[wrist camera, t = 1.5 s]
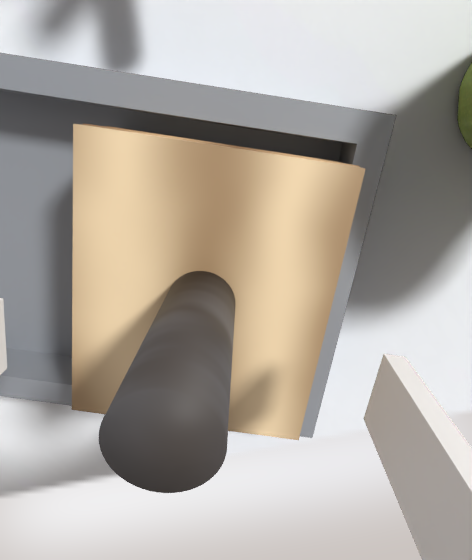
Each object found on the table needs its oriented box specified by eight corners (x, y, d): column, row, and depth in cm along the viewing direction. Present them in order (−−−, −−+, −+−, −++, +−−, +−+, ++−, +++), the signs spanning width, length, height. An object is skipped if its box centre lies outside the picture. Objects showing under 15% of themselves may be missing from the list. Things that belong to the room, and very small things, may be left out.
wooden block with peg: (108, 351, 26) (-53, 600, 12) (117, 127, 21) (-130, 100, 7) (287, 376, 26) (336, 647, 12) (335, 160, 22) (502, 196, 8)
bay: (-25, 349, 28) (-72, 386, 24) (-51, 54, 22) (-122, 33, 18) (302, 394, 29) (312, 437, 25) (368, 119, 23) (396, 115, 18)
